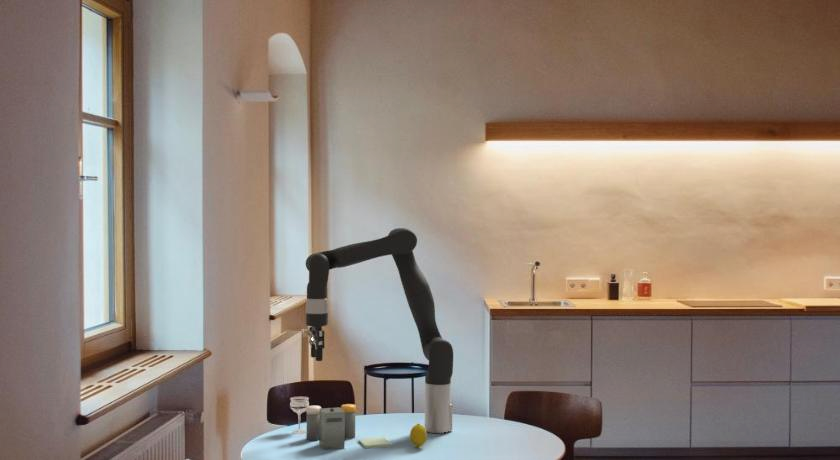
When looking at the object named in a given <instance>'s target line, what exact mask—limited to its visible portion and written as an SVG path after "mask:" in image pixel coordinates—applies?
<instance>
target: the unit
mask: <svg viewBox="0 0 840 460" xmlns="http://www.w3.org/2000/svg"><path fill="white" fill-rule="evenodd" d="M345 440H346V439H345V411H343V410H342V409H341V407H327V408H326V407H324V408H322V407H321V409H320V420H319V440H318V445H319V446H320V447H321V449H322V450H323V451H327V450H339V449H341V450H342V449H345V446H346V445H345V444H346V443H345Z"/></svg>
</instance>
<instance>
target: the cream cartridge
mask: <svg viewBox="0 0 840 460" xmlns="http://www.w3.org/2000/svg"><path fill="white" fill-rule="evenodd" d="M321 408H322V406H320V405H309V406H307V407H306V411H305V412H306V434H305V435H306V436H305V437H306V439H305V440H306V441H308V442H316V441H318V442H319V420H320V409H321Z"/></svg>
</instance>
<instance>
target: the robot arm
mask: <svg viewBox="0 0 840 460" xmlns="http://www.w3.org/2000/svg"><path fill="white" fill-rule="evenodd" d="M417 244H418V238H417V235H416V233H415V232H414V231H413V230H411V229H409V228H404V227H401V228H400V227H399V228H394V229H392V230H390V232H389V233H388V235H386V236H383V237H381V238H377V239H373V240H367V241H362V242H361V241H360V242H356V243H351V244H347V245H344V246H340V247H337V248H334V249H331V250H330V249H329V250H324V251H320V252H314V253H312V254H310V255H308V257H307V258H306V260H305V267H306V269H307V271H308V272H309V273H308V283H307V285H306V303H305V325H306V326H307V327H308V330H309V333H308V336H309V338H308V343H309V345H310V357H311V358H315V361H316V362H322V361H323V355H324V354H323V353H324V349H325V330H323V328H322V327H327V326H328V324H329V322H328V321H329V303H328V280H329V274H330V270H333V269H339V268H346V267H349V266H352V265H357V264H360V263H363V262H365V261H370V260H373V259H377V258H380V257H384V256H390V255H391V256H392V259H393V260H394V264H395V265H396V268H397V271H398V274H399V279H400V281H401V285H402V288H403V292H404V295H405V298H406V301H407V304H408V307H409V309H410V313H411V316H412V317H413V321H414V323H415V326H416V328H417V332H418V335H419V340H420V345H421V349H422V353H423V355H424V358H426V360H428V369H427V370H428V371H427V373H426V374H425V377H424V380H425V382H424V428H425V429H426V433H430V434H431V433H432V434H445V433H444V432H446V433H449V432H452V431H453V404H452V403H451V395H452V394H451V393H452V391H451V387H452V385H451V383H452V382H451V379H452V378H453V377H452V376H453V373H454V372H453V370H454V348H453V345H452V344H451V343H450V341H448V340H446V339H443V337H442V335H441V332H440V330H439V328H438V325H437V321H436V310H435V309H436V307H435V299H434V296H433V293H432V290H431V286H430V285H429V283H428V281H427V279H426V277H425V275H424V273H423V272H422V270H421V269H420V267H419V264H418V263H417V261H416V258H415V255H414V252H413V251H414V250H415V249H416V246H417ZM451 430H452V431H451ZM448 431H449V432H448Z"/></svg>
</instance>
